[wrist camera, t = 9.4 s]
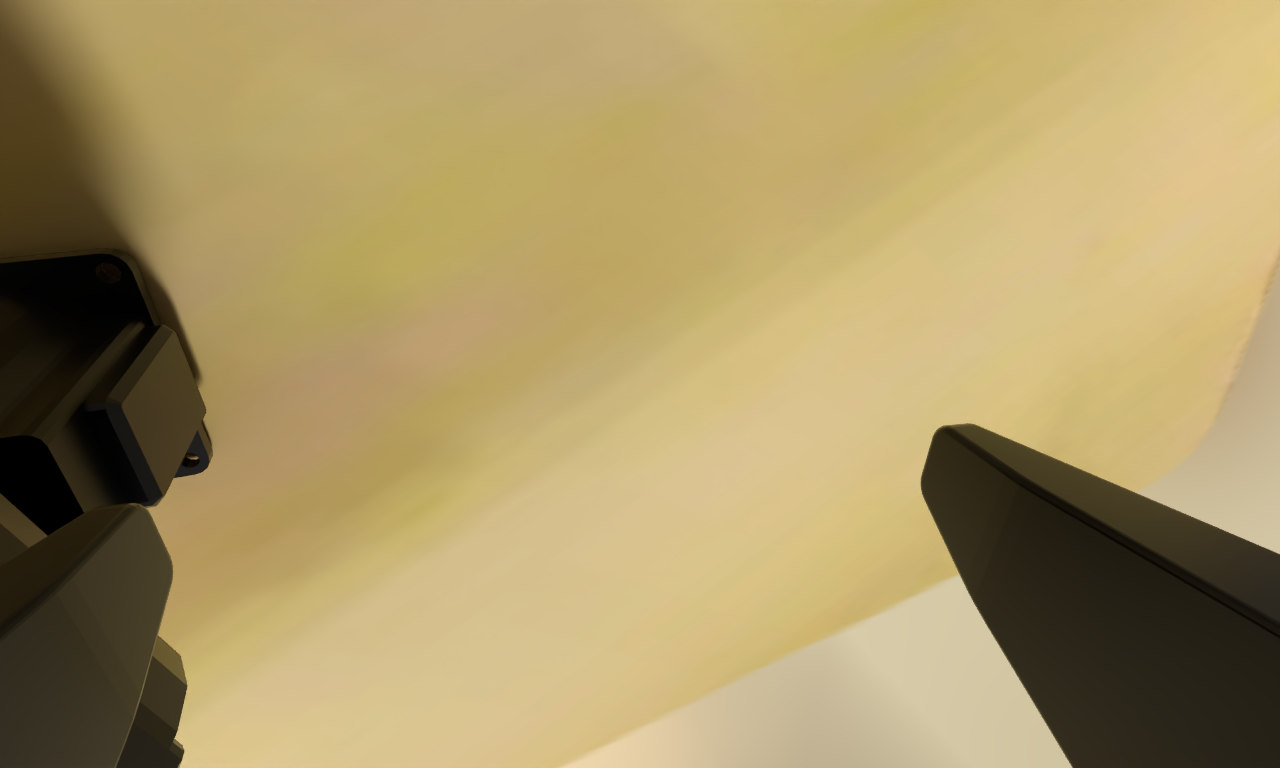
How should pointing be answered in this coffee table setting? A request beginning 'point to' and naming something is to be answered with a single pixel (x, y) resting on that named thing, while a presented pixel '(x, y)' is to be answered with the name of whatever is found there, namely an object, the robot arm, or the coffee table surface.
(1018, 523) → the robot arm
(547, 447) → the coffee table surface
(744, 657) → the coffee table surface
